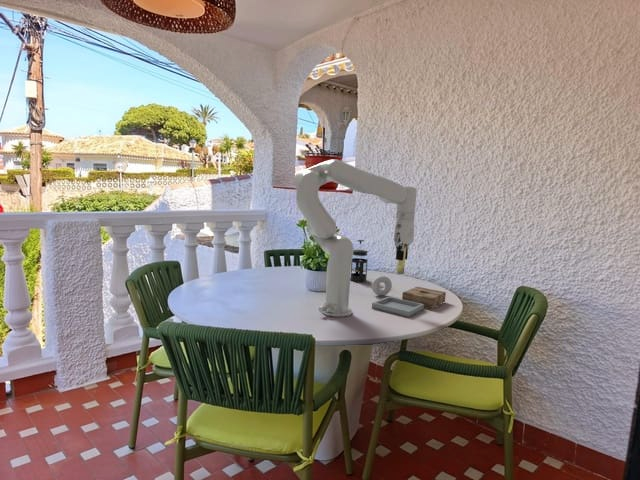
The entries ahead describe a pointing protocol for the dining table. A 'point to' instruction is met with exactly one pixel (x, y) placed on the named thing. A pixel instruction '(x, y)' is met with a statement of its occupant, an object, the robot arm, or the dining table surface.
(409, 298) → the pin block
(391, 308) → the tray
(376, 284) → the donut
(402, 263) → the pin
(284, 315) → the dining table surface
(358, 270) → the french press
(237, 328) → the dining table surface
